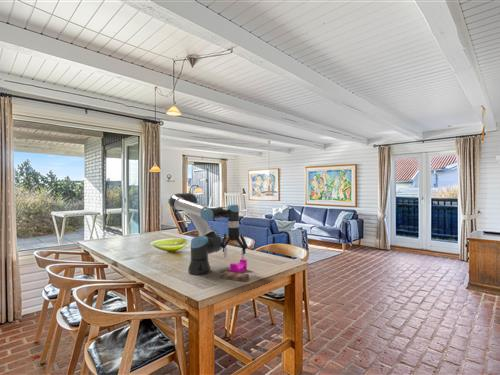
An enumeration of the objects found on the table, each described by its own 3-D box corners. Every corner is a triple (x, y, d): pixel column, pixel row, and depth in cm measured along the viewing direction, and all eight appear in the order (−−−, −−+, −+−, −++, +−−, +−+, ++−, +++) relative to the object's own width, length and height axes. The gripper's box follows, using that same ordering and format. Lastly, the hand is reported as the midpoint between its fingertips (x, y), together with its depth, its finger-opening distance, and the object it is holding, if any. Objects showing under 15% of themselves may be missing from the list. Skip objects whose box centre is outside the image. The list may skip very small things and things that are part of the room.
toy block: (239, 268, 197) (239, 258, 197) (246, 270, 194) (246, 259, 193) (227, 274, 184) (226, 263, 184) (234, 276, 181) (234, 264, 181)
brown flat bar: (220, 277, 176) (220, 274, 176) (225, 274, 183) (225, 270, 183) (244, 281, 169) (244, 277, 169) (248, 278, 176) (248, 274, 176)
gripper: (215, 227, 191) (215, 257, 191) (247, 228, 181) (248, 260, 181) (220, 225, 198) (221, 255, 198) (252, 227, 187) (252, 258, 187)
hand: (234, 257), depth 189 cm, fingers open, 13 cm apart
